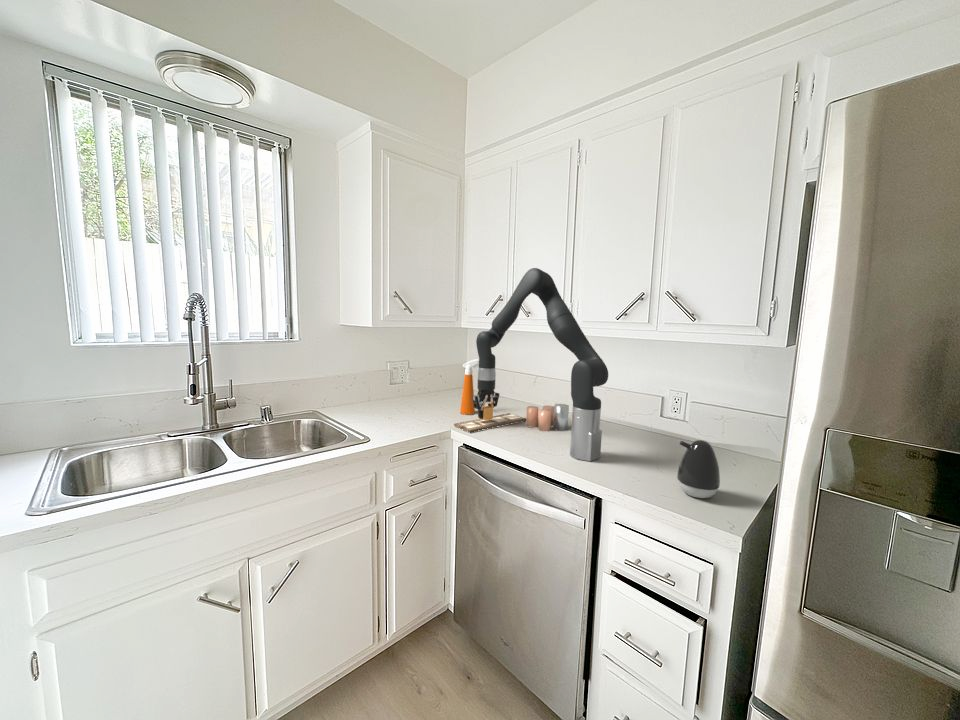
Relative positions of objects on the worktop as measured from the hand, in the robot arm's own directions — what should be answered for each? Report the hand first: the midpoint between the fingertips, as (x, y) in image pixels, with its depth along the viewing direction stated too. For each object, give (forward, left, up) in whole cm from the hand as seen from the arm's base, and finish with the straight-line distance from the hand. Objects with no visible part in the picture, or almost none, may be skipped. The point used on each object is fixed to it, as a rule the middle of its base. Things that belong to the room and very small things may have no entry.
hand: (485, 417), depth 167 cm
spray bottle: (+19, -8, -4) cm, 21 cm away
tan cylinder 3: (-19, -17, -4) cm, 25 cm away
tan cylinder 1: (-12, -17, -4) cm, 21 cm away
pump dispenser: (-84, -5, -4) cm, 84 cm away
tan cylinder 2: (-15, -24, -4) cm, 28 cm away
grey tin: (-22, -24, -4) cm, 32 cm away
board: (0, -4, -4) cm, 5 cm away
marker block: (0, 0, 0) cm, 0 cm away
